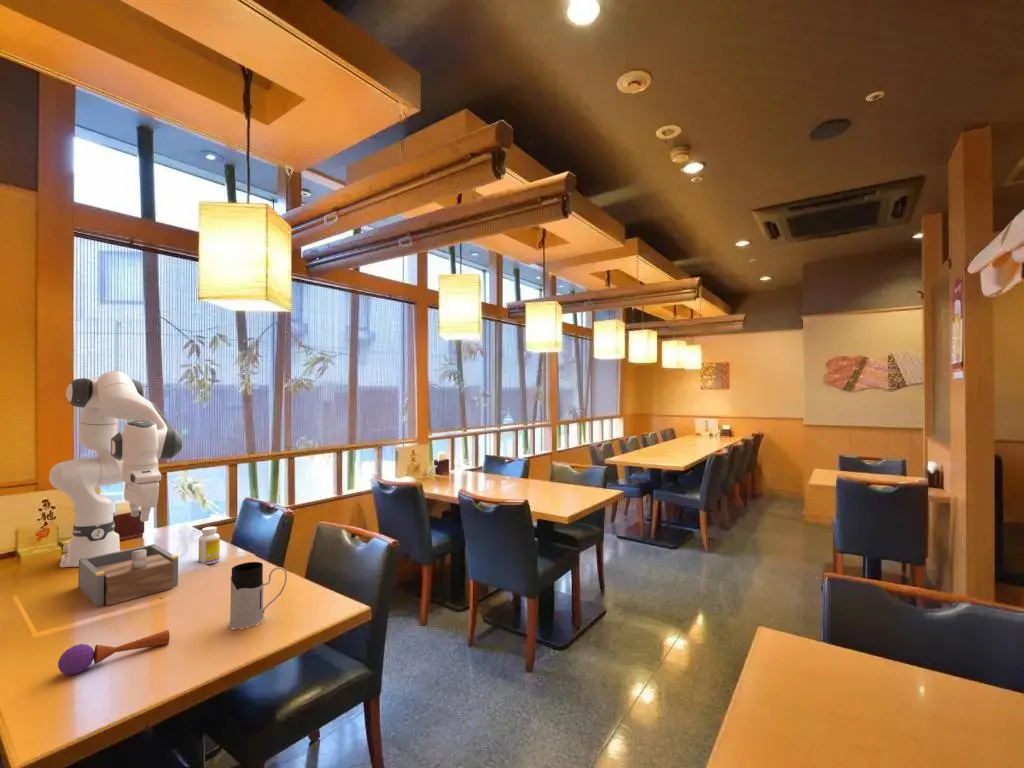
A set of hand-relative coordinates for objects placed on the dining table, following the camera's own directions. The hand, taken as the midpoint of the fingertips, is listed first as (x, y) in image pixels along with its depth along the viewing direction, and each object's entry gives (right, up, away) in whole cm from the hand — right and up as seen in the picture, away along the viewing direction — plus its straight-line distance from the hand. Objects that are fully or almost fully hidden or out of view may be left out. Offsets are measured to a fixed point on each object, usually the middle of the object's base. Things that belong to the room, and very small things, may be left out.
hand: (139, 518), depth 147 cm
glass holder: (+45, -24, -15) cm, 53 cm away
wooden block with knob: (-3, -23, +2) cm, 23 cm away
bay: (-8, -25, +6) cm, 27 cm away
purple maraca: (+22, -24, -35) cm, 47 cm away
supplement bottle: (+1, -26, +31) cm, 40 cm away
